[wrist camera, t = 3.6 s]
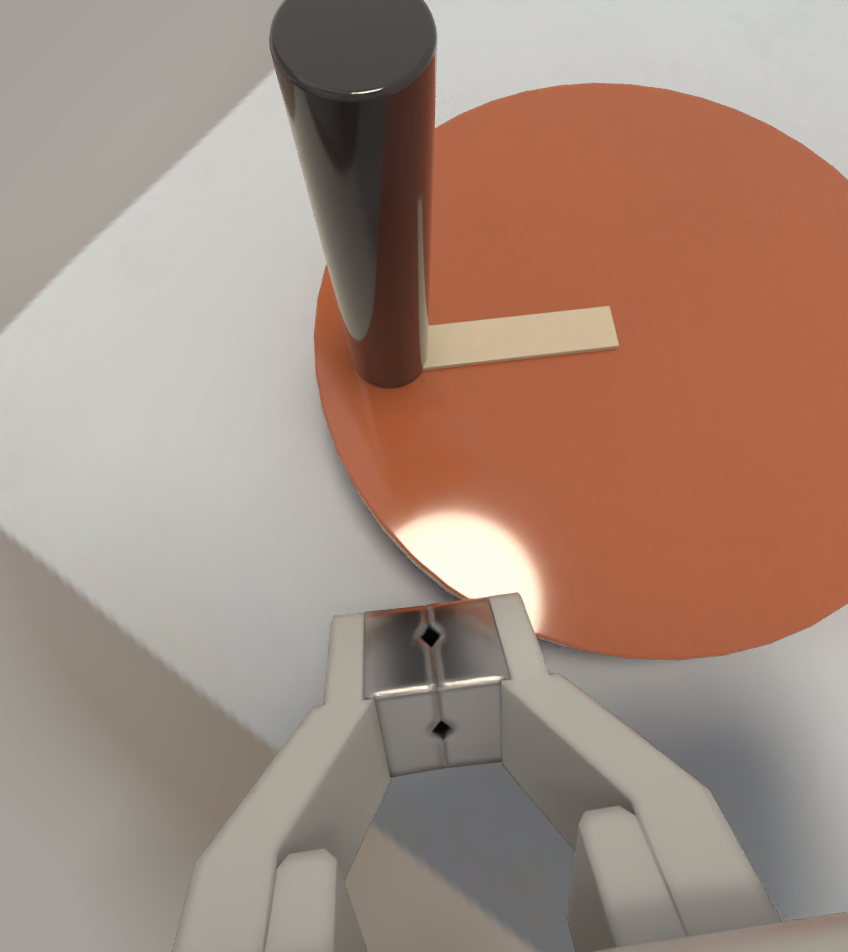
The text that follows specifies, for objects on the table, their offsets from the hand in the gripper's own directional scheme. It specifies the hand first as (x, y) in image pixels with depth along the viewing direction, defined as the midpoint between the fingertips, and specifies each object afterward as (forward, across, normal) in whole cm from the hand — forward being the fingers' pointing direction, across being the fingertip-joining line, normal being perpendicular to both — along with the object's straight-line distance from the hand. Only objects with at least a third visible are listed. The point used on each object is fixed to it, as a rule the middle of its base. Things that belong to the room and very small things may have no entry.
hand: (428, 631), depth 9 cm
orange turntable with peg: (+8, -6, -2) cm, 11 cm away
